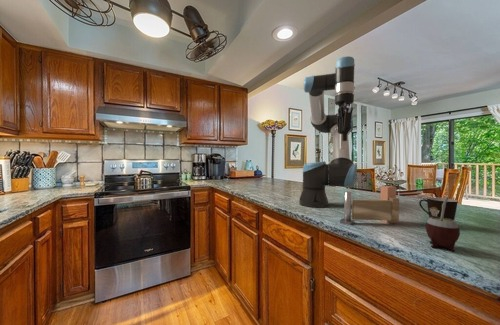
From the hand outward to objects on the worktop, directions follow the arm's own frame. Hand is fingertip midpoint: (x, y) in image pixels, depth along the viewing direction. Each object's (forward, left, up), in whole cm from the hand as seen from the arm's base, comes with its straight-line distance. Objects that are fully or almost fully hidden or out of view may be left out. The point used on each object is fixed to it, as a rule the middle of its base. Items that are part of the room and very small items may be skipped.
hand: (343, 148), depth 91 cm
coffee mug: (-16, +30, -30) cm, 45 cm away
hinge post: (+9, +6, -29) cm, 31 cm away
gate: (+2, +13, -28) cm, 31 cm away
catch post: (-5, +16, -29) cm, 34 cm away
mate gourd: (+12, +34, -30) cm, 46 cm away
